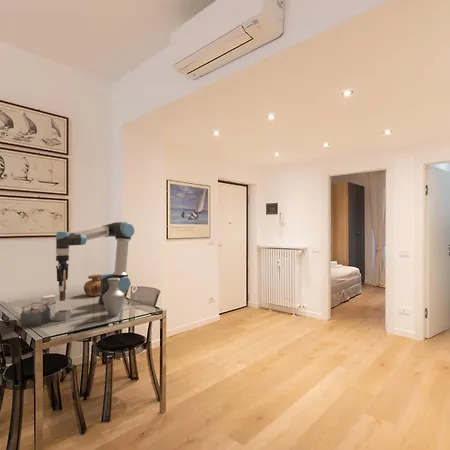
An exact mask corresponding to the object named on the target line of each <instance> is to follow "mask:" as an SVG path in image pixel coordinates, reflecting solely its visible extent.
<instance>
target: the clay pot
mask: <svg viewBox="0 0 450 450" xmlns="http://www.w3.org/2000/svg"><path fill="white" fill-rule="evenodd" d="M102 275H103V274H100V273H99V274H90V275H87V276H88V279H89V280H88V281H87V282H85V283H84V285H83V291H84V293H85V294H86V295H88V296H90V297H97V296H98V295H99V296H100V294H101V281H100V279H101V276H102Z"/></svg>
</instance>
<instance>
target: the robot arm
mask: <svg viewBox="0 0 450 450" xmlns="http://www.w3.org/2000/svg"><path fill="white" fill-rule="evenodd" d="M55 234H56V235H55V248H56V249H55V254H56V256H55V261H56V262H58V265H55V268H56V281H57V282H58V292H60V291H64V281H63V272H64V270H65V291H66V290H67V281H68V278H69V266H70V265H69V263H67V262H68V261H69V260H70V246H84V245H85V244H86V243H87V241H89V240H93V239H94V240H95V239H98V238H99V239H100V238H102V237H103V238H109V237H111V238H112V237H114V238H115V240H116V251H115V252H116V253H115V262H114V271H113V272H112V273H108V274H107V273H106V274H101V275H102V276H101V279H100V278H99V279H100V281H101V294H100V295H99V298H98V303H97V304H98V305H101V306H102V305H103V306H105V305H104V302H103V298H102V297H103V295H104V294H105V293H106V292H107V291H108V290H109V282H108V280H107V279H109V278H120V280H119V282H118V288H119V290H120V291H121V292H123V293H124V292H126V291H127V290H128V289H129V288H130V286H131V279H130V278H129V274H128V272H127V265H128V252H129V242H130V241H131V239H132V236H133V235H134V234H135V227H134V225H133V224H132V223H130V222H128V221H121V222H120V221H119V222H118V221H115V222H111V223H108V224H103V225H102V226H101V227H96V228H90V229H87V230H86V229H85V230H82V231H75V232H69V231H57V232H56V233H55Z"/></svg>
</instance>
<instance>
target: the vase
mask: <svg viewBox="0 0 450 450" xmlns="http://www.w3.org/2000/svg"><path fill="white" fill-rule="evenodd" d="M107 280H108V282H109V290H108V291H107V292H106V293H105V294H104V295H103V297H102V298H103V302H104V305H103V306H104V307H105V310H106V312H107V315H108V316H109V317H117V316H119V315H120V313H121V310H122V307H123V304H124V301H125V293H124V292H121V291H120V290H119V288H118V282H119V280H120V278H109V279H107ZM118 314H119V315H118Z"/></svg>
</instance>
